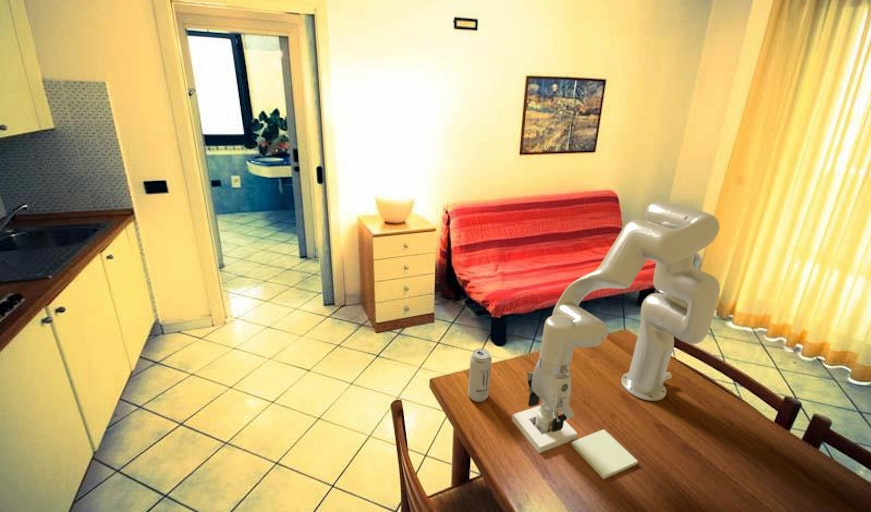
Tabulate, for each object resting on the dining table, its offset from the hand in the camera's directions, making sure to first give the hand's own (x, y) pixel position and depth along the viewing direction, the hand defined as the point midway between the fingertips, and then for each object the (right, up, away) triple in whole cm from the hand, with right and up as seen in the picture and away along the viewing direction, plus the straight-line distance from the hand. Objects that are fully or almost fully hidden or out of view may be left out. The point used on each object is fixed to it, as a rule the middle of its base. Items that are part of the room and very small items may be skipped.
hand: (544, 416), depth 108 cm
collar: (0, -4, +2) cm, 4 cm away
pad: (+13, -7, -5) cm, 16 cm away
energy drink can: (-16, +1, +13) cm, 21 cm away
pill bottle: (0, -4, +2) cm, 5 cm away
